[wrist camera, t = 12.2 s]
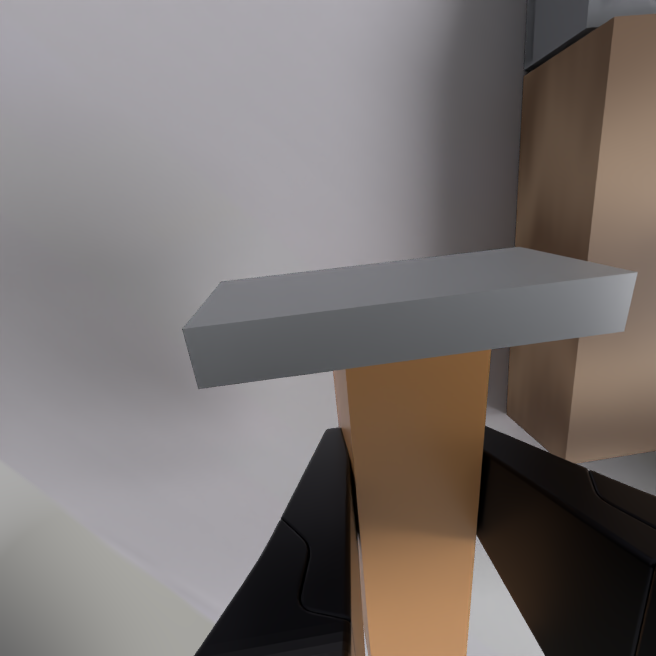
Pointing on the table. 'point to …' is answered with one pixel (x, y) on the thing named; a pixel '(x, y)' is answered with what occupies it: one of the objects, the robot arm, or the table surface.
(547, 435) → the tan block
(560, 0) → the box
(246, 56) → the table surface
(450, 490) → the scraper
